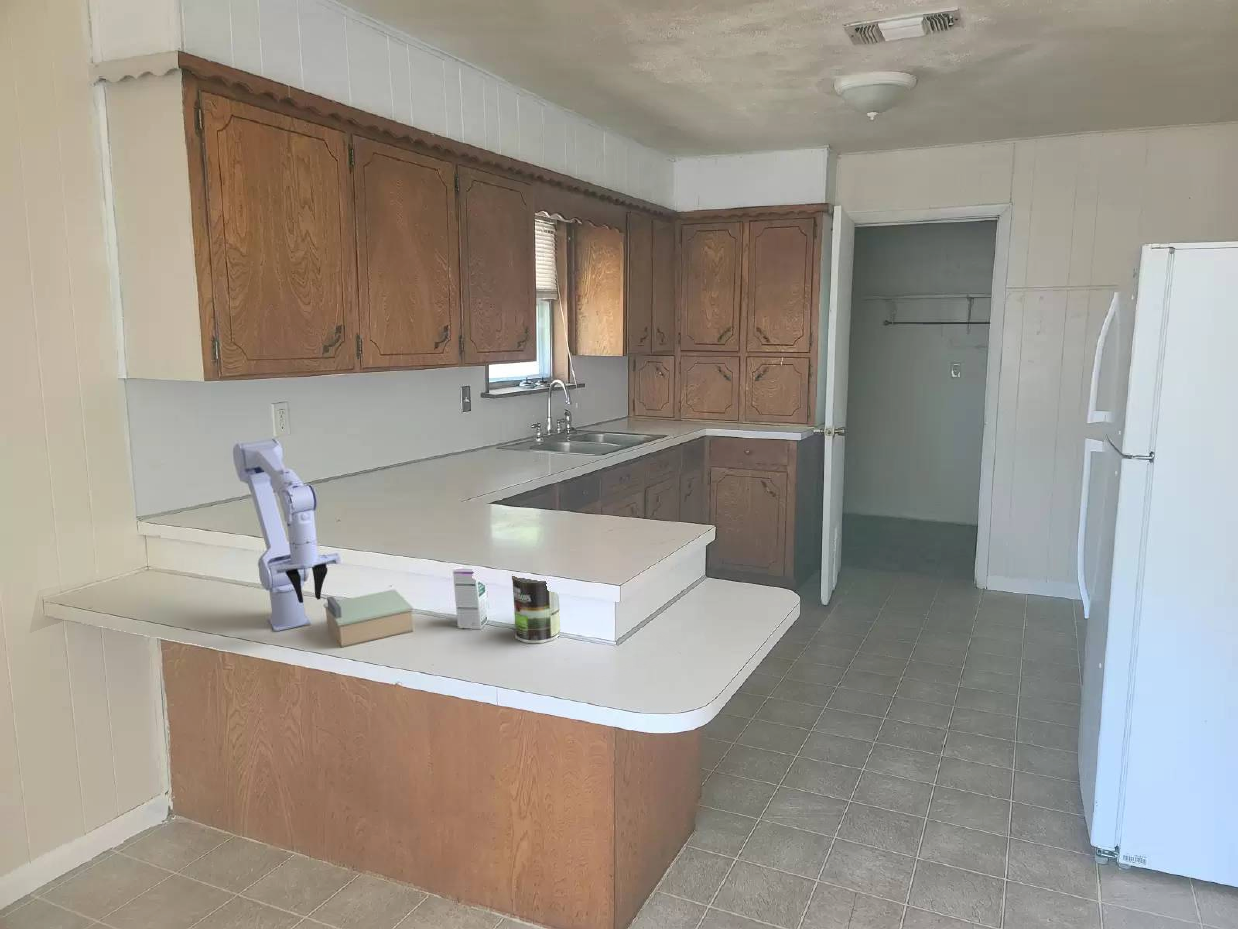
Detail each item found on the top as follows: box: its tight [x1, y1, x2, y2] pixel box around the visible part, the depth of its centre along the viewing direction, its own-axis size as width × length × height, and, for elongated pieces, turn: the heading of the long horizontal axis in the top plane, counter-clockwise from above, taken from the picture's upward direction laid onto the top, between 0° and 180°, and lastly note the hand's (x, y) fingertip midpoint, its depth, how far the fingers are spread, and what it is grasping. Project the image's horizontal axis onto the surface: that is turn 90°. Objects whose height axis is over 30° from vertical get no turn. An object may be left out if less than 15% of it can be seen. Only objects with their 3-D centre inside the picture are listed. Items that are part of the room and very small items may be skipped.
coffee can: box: [511, 575, 561, 644], centre depth 194 cm, size 10×10×14 cm
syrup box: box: [452, 566, 488, 630], centre depth 201 cm, size 6×6×14 cm
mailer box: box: [325, 609, 414, 648], centre depth 201 cm, size 14×16×5 cm
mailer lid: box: [323, 589, 414, 626], centre depth 200 cm, size 15×17×3 cm
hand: (309, 599), depth 193 cm, fingers open, 3 cm apart
